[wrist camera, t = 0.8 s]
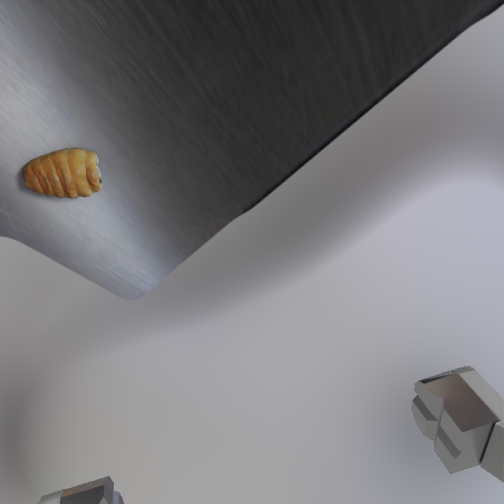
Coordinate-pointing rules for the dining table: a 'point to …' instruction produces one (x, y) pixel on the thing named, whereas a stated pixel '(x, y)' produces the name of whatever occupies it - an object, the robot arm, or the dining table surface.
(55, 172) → the pastry
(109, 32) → the dining table surface
